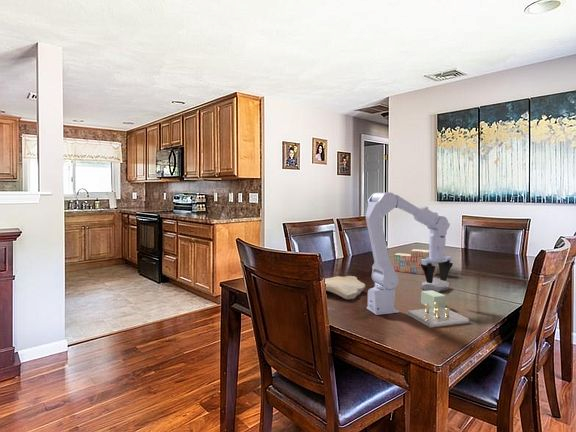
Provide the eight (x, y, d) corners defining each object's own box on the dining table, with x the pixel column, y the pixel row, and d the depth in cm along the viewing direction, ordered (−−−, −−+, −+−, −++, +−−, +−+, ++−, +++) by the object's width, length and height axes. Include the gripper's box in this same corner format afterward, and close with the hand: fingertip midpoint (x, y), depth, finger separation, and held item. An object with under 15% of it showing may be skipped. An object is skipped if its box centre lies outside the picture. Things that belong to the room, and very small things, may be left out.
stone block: (450, 291, 171) (428, 284, 177) (452, 282, 170) (430, 274, 176) (441, 298, 162) (419, 290, 168) (444, 288, 161) (421, 280, 167)
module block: (433, 309, 140) (434, 296, 140) (421, 303, 148) (421, 291, 148) (445, 308, 142) (445, 295, 141) (431, 302, 149) (432, 290, 149)
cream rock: (322, 285, 180) (298, 291, 164) (323, 270, 180) (299, 274, 164) (368, 295, 166) (347, 302, 150) (370, 279, 166) (349, 284, 150)
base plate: (430, 327, 122) (430, 314, 122) (407, 314, 135) (407, 302, 134) (468, 322, 126) (468, 309, 126) (442, 310, 139) (443, 298, 138)
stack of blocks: (393, 271, 206) (393, 249, 206) (396, 269, 212) (397, 247, 211) (434, 275, 195) (434, 252, 194) (436, 273, 200) (437, 250, 199)
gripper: (432, 249, 137) (431, 286, 138) (458, 246, 144) (457, 281, 144) (417, 247, 143) (416, 281, 144) (443, 244, 150) (442, 277, 151)
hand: (436, 281), depth 145 cm, fingers open, 7 cm apart
